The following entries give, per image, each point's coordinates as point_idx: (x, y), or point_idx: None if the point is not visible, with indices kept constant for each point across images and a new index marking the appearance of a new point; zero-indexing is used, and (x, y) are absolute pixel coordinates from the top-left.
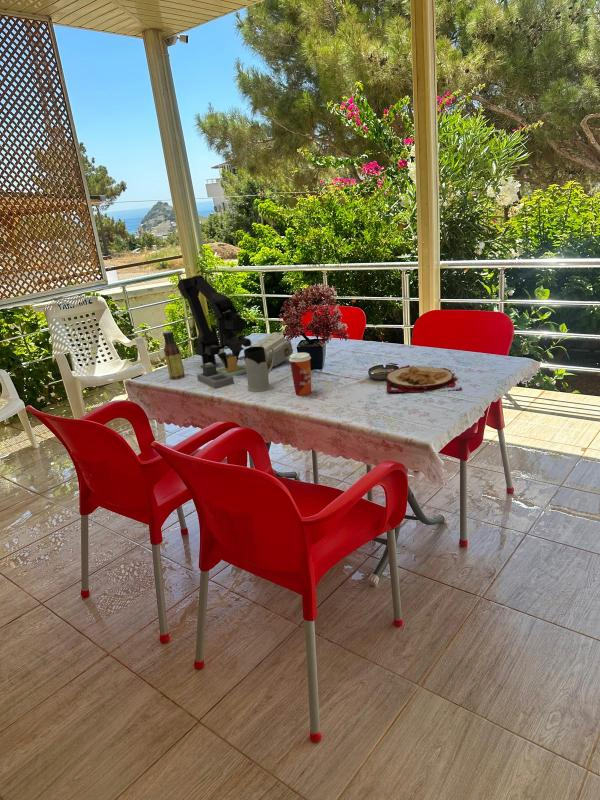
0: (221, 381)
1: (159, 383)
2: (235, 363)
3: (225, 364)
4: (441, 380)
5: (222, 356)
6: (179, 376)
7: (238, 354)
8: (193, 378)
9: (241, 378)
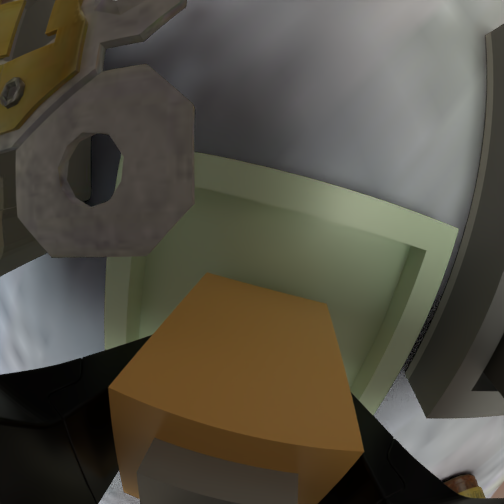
0: None
1: (497, 476)
2: (204, 320)
3: (357, 399)
4: None
5: (469, 498)
6: (470, 483)
7: (39, 378)
8: (446, 452)
9: (353, 65)
